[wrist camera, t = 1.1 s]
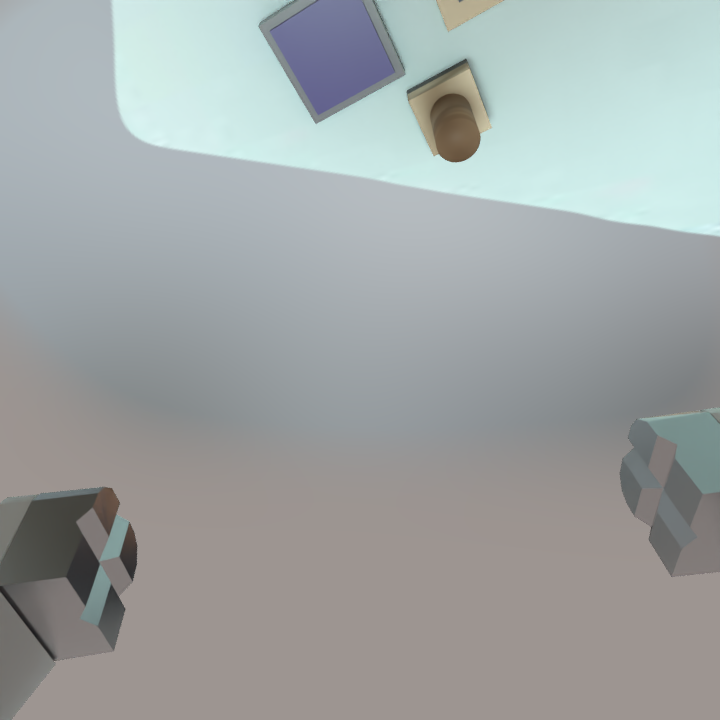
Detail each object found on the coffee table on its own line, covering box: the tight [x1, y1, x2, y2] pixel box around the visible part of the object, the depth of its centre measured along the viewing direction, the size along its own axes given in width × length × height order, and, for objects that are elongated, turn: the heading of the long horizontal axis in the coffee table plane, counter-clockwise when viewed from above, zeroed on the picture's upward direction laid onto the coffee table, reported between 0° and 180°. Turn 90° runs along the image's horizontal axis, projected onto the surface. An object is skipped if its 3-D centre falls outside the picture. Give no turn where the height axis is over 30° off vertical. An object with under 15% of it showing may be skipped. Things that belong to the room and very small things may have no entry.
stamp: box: [407, 59, 492, 162], centre depth 44 cm, size 5×5×7 cm
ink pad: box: [259, 0, 405, 124], centre depth 43 cm, size 8×8×1 cm
